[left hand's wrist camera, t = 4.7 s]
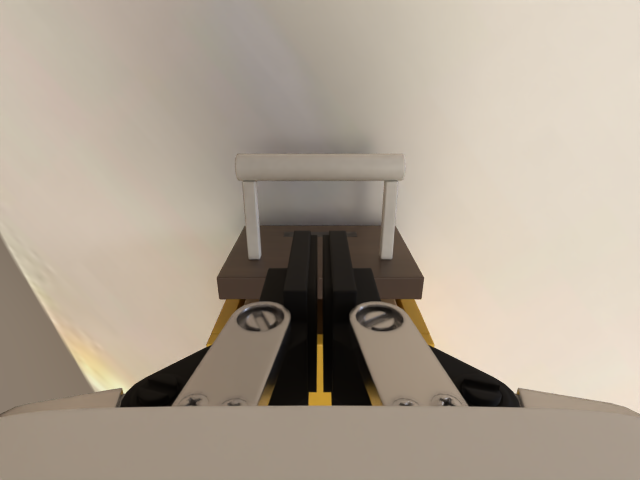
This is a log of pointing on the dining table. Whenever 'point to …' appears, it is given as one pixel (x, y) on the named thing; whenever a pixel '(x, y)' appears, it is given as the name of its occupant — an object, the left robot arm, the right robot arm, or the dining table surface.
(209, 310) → the dining table surface
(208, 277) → the dining table surface
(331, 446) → the left robot arm
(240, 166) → the drawer
